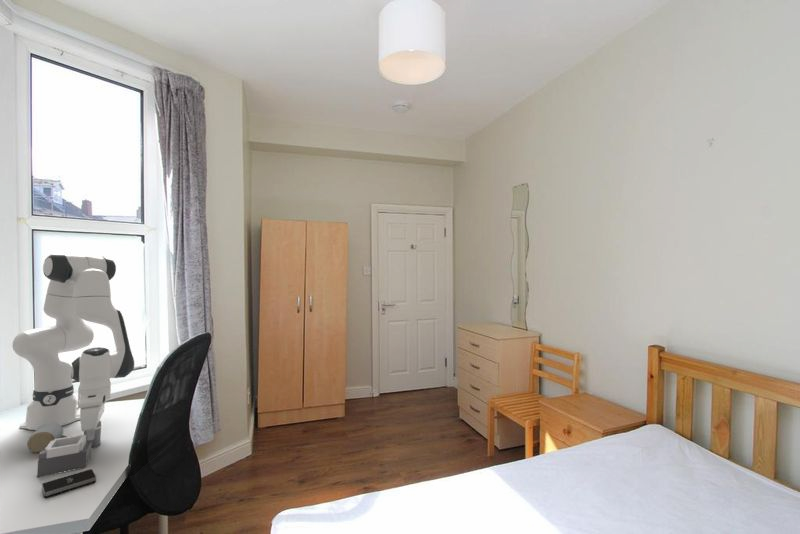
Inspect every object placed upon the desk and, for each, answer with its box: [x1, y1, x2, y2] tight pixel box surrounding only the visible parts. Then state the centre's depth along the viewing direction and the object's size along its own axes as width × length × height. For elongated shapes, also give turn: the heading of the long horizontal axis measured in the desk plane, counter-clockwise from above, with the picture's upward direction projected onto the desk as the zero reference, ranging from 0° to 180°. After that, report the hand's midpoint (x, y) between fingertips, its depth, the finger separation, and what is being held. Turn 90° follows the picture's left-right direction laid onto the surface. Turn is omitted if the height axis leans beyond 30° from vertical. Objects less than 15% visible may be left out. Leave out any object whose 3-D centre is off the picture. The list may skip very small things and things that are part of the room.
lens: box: [83, 420, 102, 450], centre depth 129 cm, size 5×5×8 cm
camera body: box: [36, 433, 92, 478], centre depth 115 cm, size 9×11×8 cm
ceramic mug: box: [26, 423, 69, 454], centre depth 127 cm, size 11×8×8 cm
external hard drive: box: [41, 468, 97, 499], centre depth 104 cm, size 7×11×2 cm, turn 138°
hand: (93, 434), depth 129 cm, fingers open, 8 cm apart
